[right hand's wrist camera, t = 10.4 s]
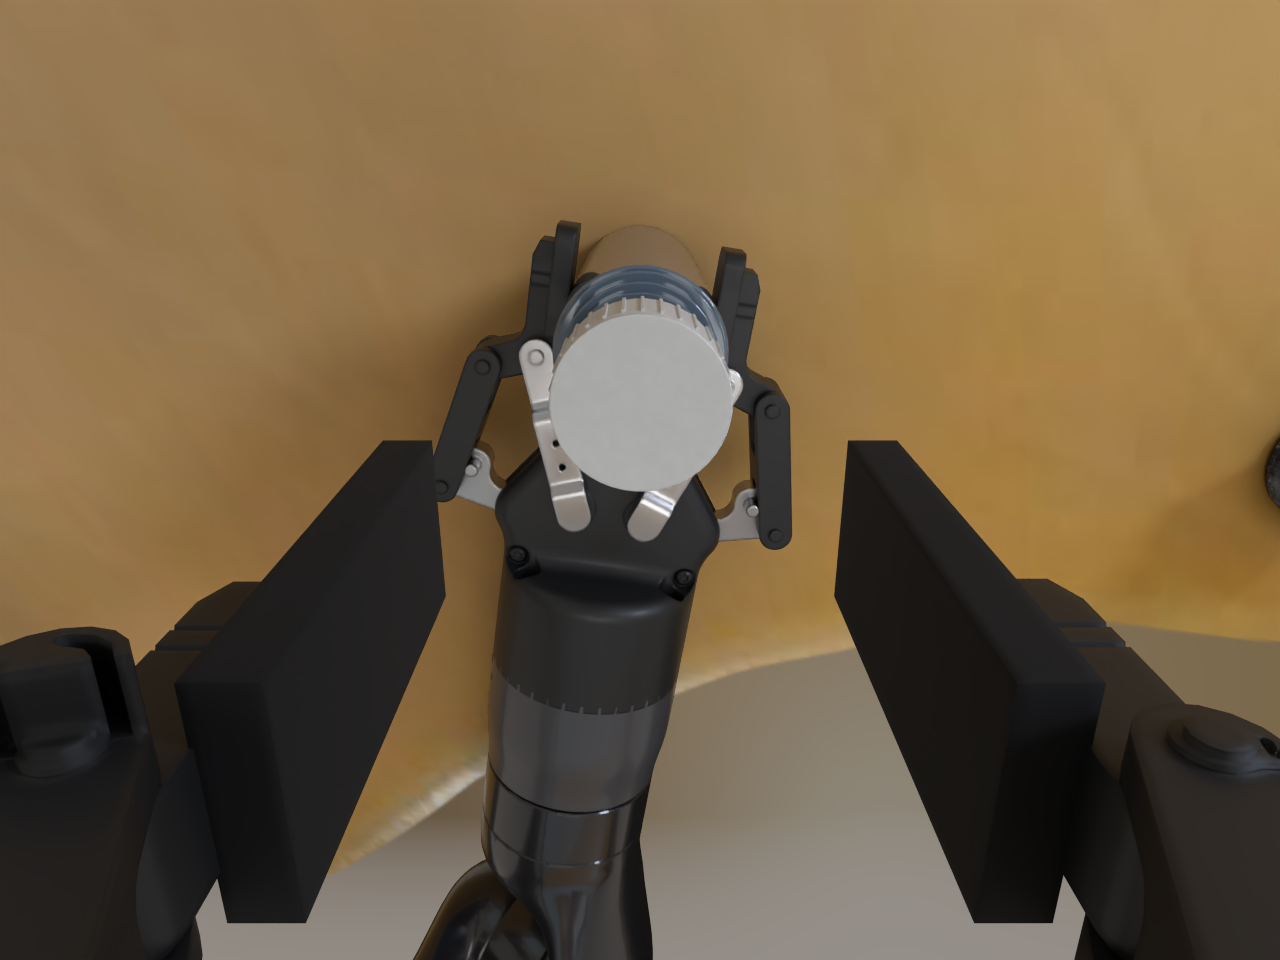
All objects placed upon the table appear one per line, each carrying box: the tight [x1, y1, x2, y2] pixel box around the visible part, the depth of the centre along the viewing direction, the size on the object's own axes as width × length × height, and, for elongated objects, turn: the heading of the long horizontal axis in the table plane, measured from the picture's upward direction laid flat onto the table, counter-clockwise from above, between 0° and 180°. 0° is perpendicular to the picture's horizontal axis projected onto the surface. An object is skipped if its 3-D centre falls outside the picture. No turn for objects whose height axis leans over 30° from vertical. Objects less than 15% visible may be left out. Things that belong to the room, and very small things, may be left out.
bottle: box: [552, 226, 729, 365], centre depth 28 cm, size 5×5×17 cm
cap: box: [548, 296, 734, 491], centre depth 21 cm, size 4×4×2 cm
